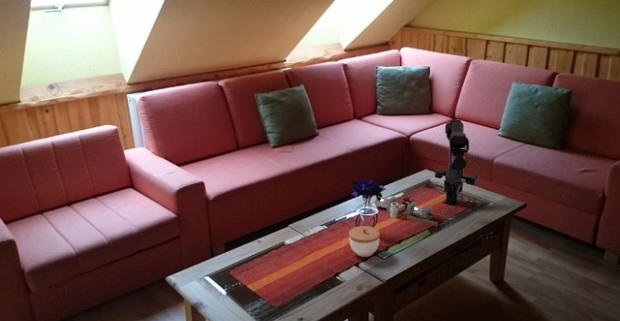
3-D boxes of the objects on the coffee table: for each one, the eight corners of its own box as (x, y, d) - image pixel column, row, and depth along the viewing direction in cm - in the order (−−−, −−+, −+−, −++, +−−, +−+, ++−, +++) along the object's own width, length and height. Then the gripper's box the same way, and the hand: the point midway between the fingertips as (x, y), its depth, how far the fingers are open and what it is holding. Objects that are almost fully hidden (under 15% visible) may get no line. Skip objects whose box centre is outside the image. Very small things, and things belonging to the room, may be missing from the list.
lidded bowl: (345, 257, 213) (345, 233, 209) (353, 243, 224) (353, 220, 220) (375, 262, 209) (375, 237, 205) (382, 247, 220) (382, 223, 216)
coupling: (406, 217, 246) (406, 205, 244) (412, 212, 250) (412, 201, 248) (426, 222, 240) (426, 210, 238) (431, 217, 244) (432, 206, 242)
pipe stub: (374, 208, 256) (374, 197, 254) (380, 204, 260) (380, 193, 259) (390, 212, 251) (390, 201, 249) (396, 208, 255) (396, 197, 253)
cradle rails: (415, 211, 251) (415, 208, 250) (445, 218, 242) (445, 216, 242) (406, 218, 244) (407, 215, 244) (437, 226, 236) (437, 223, 235)
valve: (396, 220, 244) (413, 212, 251) (397, 207, 241) (413, 199, 249) (386, 215, 248) (402, 208, 256) (386, 203, 246) (403, 195, 253)
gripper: (430, 163, 233) (429, 195, 239) (470, 171, 223) (468, 204, 228) (440, 156, 242) (439, 187, 247) (480, 163, 231) (477, 196, 236)
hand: (455, 194), depth 239 cm, fingers closed
